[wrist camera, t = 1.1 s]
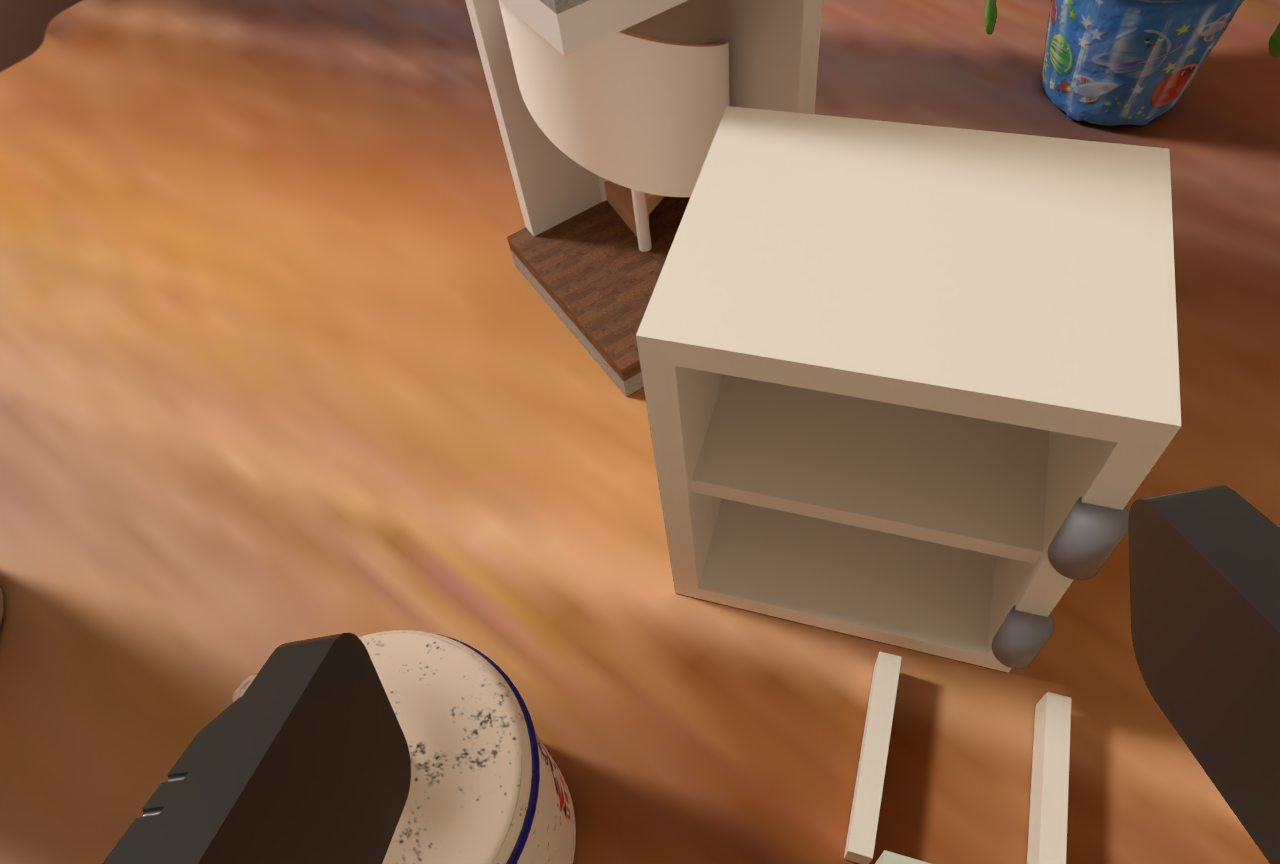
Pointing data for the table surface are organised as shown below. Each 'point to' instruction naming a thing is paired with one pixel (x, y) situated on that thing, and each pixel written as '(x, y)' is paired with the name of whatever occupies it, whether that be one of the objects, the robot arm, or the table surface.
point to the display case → (625, 135)
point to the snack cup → (1127, 54)
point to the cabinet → (912, 393)
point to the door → (896, 859)
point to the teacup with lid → (468, 759)
